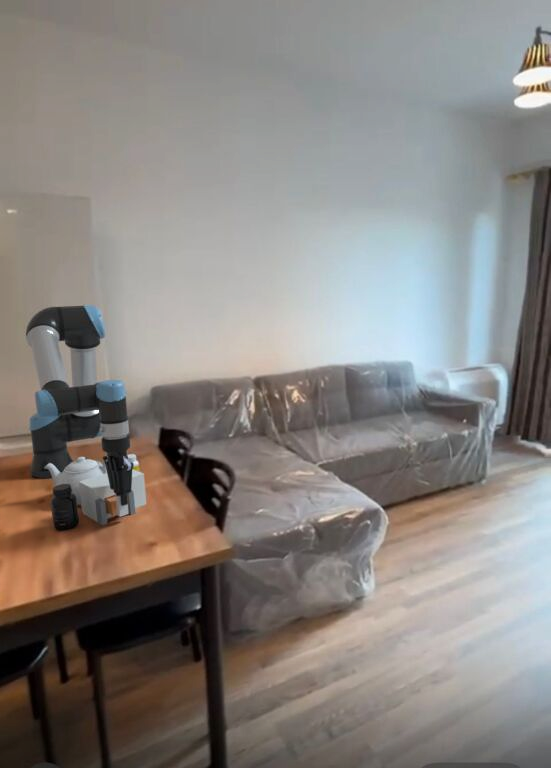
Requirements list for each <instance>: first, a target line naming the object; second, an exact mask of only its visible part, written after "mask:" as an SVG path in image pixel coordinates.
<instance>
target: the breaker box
mask: <svg viewBox="0 0 551 768" xmlns="http://www.w3.org/2000/svg"><path fill="white" fill-rule="evenodd" d="M79 487H80V496H81V505H82V506H81V512H82V514H84V516H87V517H89V518H90V519H91V520H93V521H95V522H97V524H99V525H101V526H102V527H104V526H106V525H108V520H109V519H110V518H111V519H112V518H114V517H116V516H117V517H118V515H117V514H116V515H114V516H113V515H111V514H109V513H108V512H106V504H105V501H104V498H107V497H110V496H113V495H115V493H114V490H113V489H112V490H111V488H110V484H109V480H108V475H107V473H106V474H102V475H99V476H96V477H93V478H89V479H86V480H83V481H80V482H79ZM146 492H147V491H146V483H145V473H143V472H141V471H139V472H138V471H136V470H133V469H132V487H131V492H130V493H127V501H128V512H129V514H128V515H130V516H131V515H134V514H136V509H138V508H140V507H142V506H143V507H144V506H145V505H147V495H146Z"/></svg>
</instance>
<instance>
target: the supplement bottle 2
mask: <svg viewBox="0 0 551 768" xmlns="http://www.w3.org/2000/svg"><path fill="white" fill-rule="evenodd" d="M127 456H128V461H129V463H132V462H133V464H134V466H133V470H136V471H138V472H140V463H139V461H138V460H137V455H136V454H134V453H131V454H127Z"/></svg>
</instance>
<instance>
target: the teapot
mask: <svg viewBox="0 0 551 768" xmlns="http://www.w3.org/2000/svg"><path fill="white" fill-rule="evenodd" d="M44 468H45V469H48V470H49V471H50V473H51V475H52V477H51V478H52V481H53V484H54V487H55V486H57V485H60V484H70V485H71V489H72V492H71V493H74V494H75V495H76V498H77V506H78V507H82V505H81V496H80V487H79V482H80V481H83V480H86V479H89V478H93V477H96V476H99V475H102V474H106V473H107V470H106V466H105V463H104V461H103V462H100V461H98V460H94V459H88V458H87V459H86V457H85V456H79V457H77V458H76V460H75V461H74V460H73V462H72V463H70V464H69V465H68V466H67V467H65V469H64V471H63V472H62V473H61V472H59V471H58V469H57V468H56V467H55V466H54V465H53V464H51V463H49V464H48V465H46V466H45V467H44Z"/></svg>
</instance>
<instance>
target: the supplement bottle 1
mask: <svg viewBox="0 0 551 768" xmlns="http://www.w3.org/2000/svg"><path fill="white" fill-rule="evenodd" d="M71 492H72V489H71V485H70V484H60V485H57V486H55V485H54V486H53V488H52V495H53V496H52V497H51V499H50V501H49V502H50V503H49V504H50V509H51V515H52V516H51V517H52V522H53V529H54V530H56V531H58V532H67V531H70V530H71V531H72V530H74V529H75V528H77V527H78V526H79V525H80V515H79V506H77V498H76V495H75V494H74V493H71Z"/></svg>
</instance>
